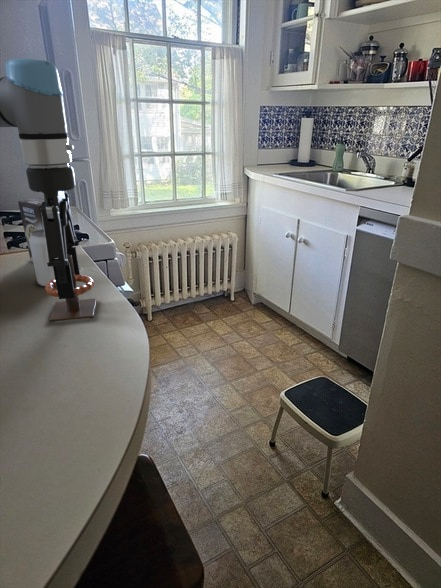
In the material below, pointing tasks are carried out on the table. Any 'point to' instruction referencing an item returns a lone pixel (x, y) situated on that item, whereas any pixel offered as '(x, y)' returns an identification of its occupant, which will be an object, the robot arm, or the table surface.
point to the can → (41, 257)
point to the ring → (78, 291)
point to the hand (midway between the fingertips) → (70, 287)
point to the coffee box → (31, 217)
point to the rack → (73, 304)
